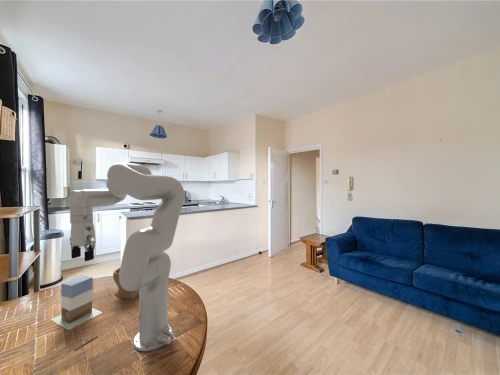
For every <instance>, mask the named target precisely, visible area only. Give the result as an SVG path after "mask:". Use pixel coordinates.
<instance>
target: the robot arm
mask: <svg viewBox="0 0 500 375" xmlns="http://www.w3.org/2000/svg"><path fill="white" fill-rule="evenodd" d="M106 177H107V181H106V188H94V189H93V188H92V189H91V188H90V189H77V190H76V189H74V190H70V193H69V223H70V224H71V225H70V237H69V244H70V250H71V259H76V258H80V257H81V256H82V252H81V250H82V247H83V248H84V255H83V256H84V261H85V262H89V261H92V260H94V259H95V253H94V252H95V247H96V242H97V241H96V231H95V230H96V229H95V225H94V217H93V216H94V212H93V211H94V210H93V208H98V207H100V208H101V207H110V206H113V205H115V204H116V205H117V204H119V203H120V202H123V201H124V200H125V199H126V198H127V195H128V196H130V197H131V198H133V199H134V200H138V201H155V200H161V202H159V205H158V206H157V207H156V209H155V211H154V212H153V215H152V216H153V217H152V220H151V223H150V225H149V226H148V227H145V228H141V229H139V230H136V231H134V232H133V233H132V234H130V235H129V237H128V238H127V240H126V242H125V245H124V250H123V253H122V259H121V262H120V267H119V268H120V271H119V282H120V285H121V286H122V288H123V289H124V290H126V291H135V290H138V289H140V293H139V298H138V333H137V334H136V335H135V337H134V338H133V347H134V348H135V349H136V350H137V351H140V352H150V351H154V350H158V349H160V348H161V347H163V346H164V345H170V344H171V342H172V341H173V340H172V338H173V337H174V336H175V333H174V332H173V330H172V328H171V326H170V325H169V324H168V313H169V312H168V308H169V307H168V302H169V300H168V297H169V296H168V295H169V291H168V290H169V279H170V274H171V267H172V262H171V258H170V256H169V254H168V253H167V252H165V251H167V250H169V249H170V248H171V246H172V245H173V242H174V238H175V234H176V231H177V227H178V222H179V218H180V215H181V211H182V210H183V205H184V204H185V203H184V202H185V190H184V187H183V185H182V184H181V182H180V181H179V180H178V179H176V178H174V177H172V176H168V175H158V174H157V175H156V174H152V171H151V170H150V168H148V167H147V166H145V165H143V164H138V163H132V162H131V163H129V162H122V161H121V162H115V163H114V164H112V165H111V166H110V167H109V168H108V170H107V174H106Z"/></svg>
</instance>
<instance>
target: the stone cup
mask: <svg viewBox="0 0 500 375" xmlns="http://www.w3.org/2000/svg"><path fill="white" fill-rule="evenodd" d="M119 271H120V267H119V268H117V269H115V270H114V271H113V273H112V277H113V281H114V282H115V285H116V286H117V288H118V290H117V291H115V293H114V296H116V297H117V298H122V299H128V300H129V299H131V300H134V299H136V298H137V299H139V293H140V289H138V290H135V291H126V290H124V289H123V288H122V286H121V285H120V282H119Z"/></svg>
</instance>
